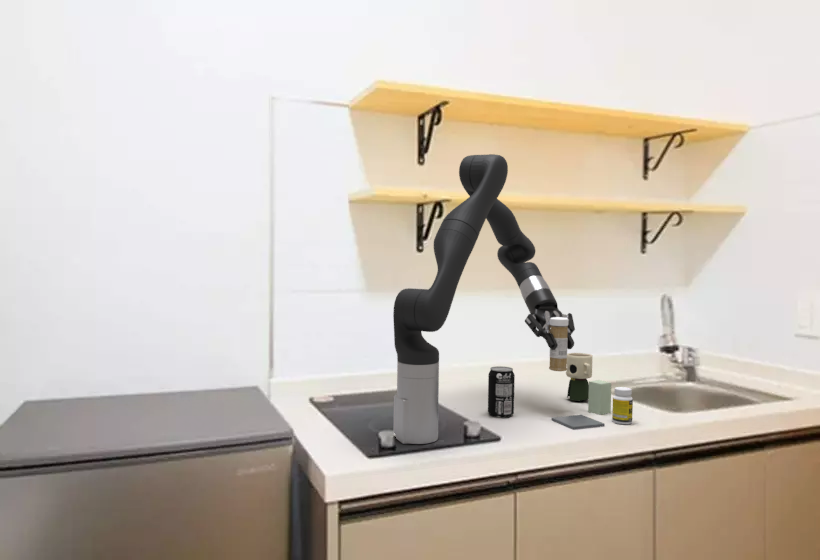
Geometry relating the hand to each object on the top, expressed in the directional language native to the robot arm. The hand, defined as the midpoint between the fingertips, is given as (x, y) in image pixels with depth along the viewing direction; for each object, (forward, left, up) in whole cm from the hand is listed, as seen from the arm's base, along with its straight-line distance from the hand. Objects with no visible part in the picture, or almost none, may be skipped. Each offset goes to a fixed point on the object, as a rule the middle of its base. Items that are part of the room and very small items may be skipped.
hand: (563, 347), depth 162 cm
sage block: (+12, +1, -18) cm, 21 cm away
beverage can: (-14, +7, -18) cm, 24 cm away
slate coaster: (0, -6, -18) cm, 19 cm away
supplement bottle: (+11, -9, -18) cm, 23 cm away
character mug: (+15, +14, -18) cm, 27 cm away
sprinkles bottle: (0, +2, -6) cm, 7 cm away
